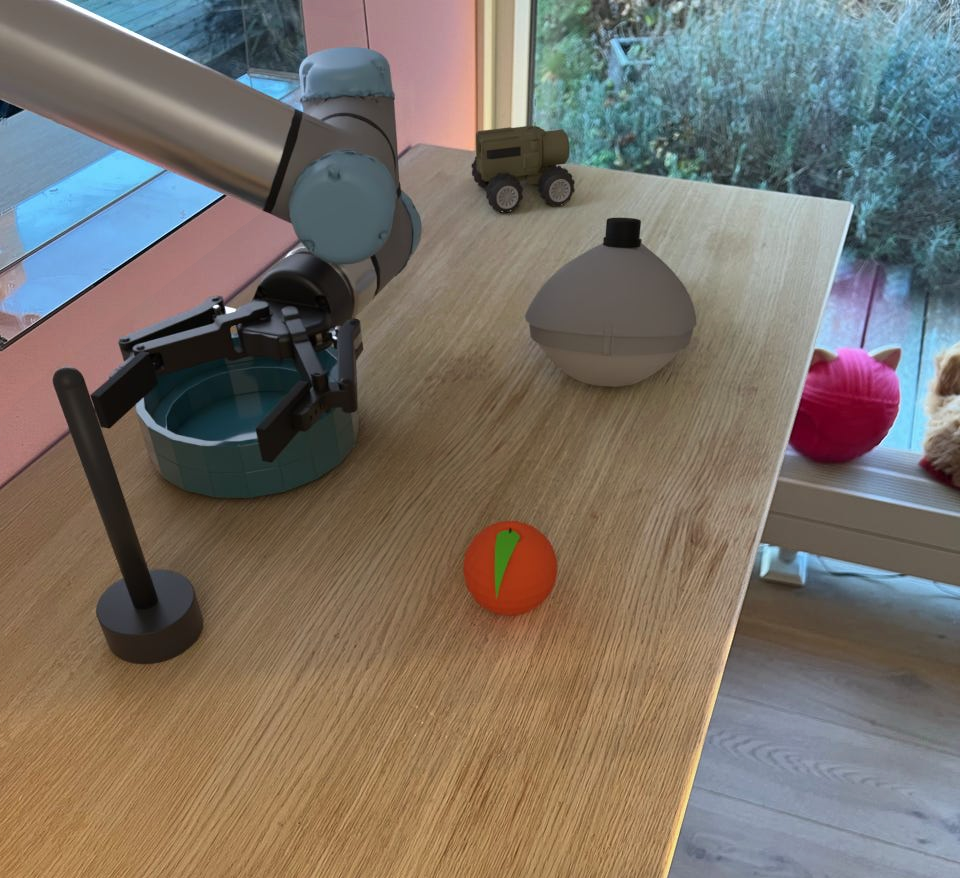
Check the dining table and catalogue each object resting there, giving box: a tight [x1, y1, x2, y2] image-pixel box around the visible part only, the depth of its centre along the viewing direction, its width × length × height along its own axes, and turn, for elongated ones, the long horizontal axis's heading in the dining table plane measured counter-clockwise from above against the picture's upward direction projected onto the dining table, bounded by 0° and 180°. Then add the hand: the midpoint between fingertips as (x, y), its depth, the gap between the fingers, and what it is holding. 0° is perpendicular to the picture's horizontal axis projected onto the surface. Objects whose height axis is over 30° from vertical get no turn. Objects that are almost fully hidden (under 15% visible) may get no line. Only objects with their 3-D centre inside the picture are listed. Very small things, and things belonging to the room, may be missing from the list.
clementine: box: [462, 520, 558, 617], centre depth 75 cm, size 8×7×7 cm
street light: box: [524, 217, 698, 388], centre depth 101 cm, size 30×16×14 cm, turn 171°
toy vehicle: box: [470, 98, 576, 212], centre depth 127 cm, size 10×11×12 cm
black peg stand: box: [52, 365, 204, 665], centre depth 69 cm, size 7×7×22 cm
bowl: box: [135, 332, 360, 499], centre depth 92 cm, size 19×19×6 cm
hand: (179, 429), depth 74 cm, fingers open, 13 cm apart
